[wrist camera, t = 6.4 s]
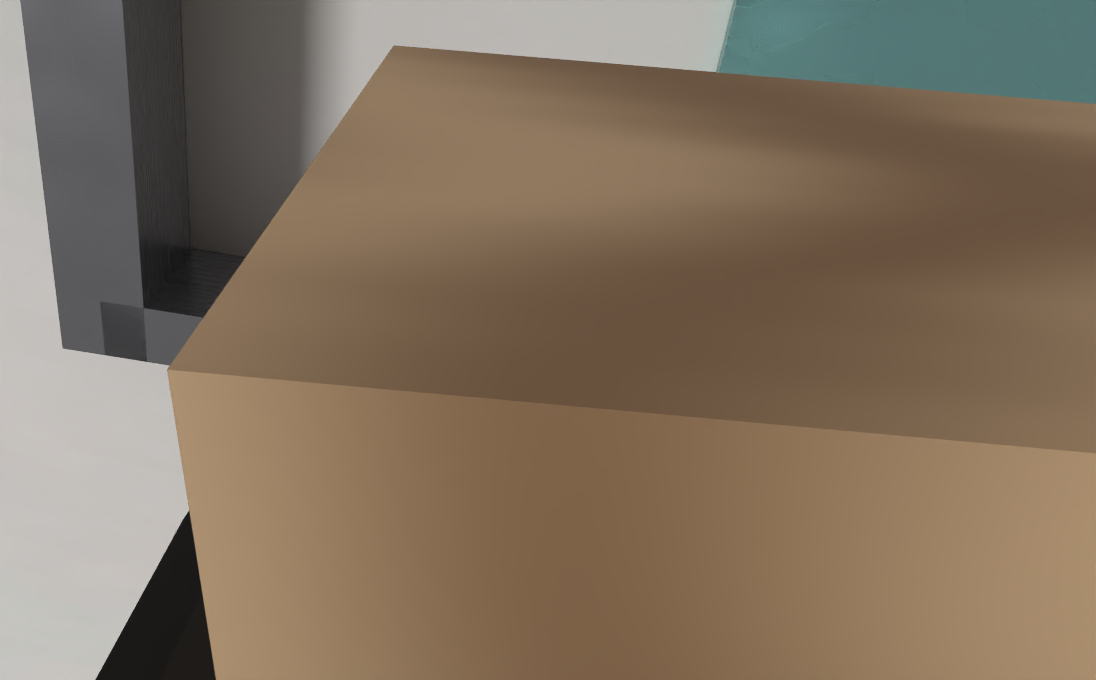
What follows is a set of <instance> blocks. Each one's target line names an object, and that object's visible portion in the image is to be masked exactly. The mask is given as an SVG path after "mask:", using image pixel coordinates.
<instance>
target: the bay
mask: <svg viewBox="0 0 1096 680" xmlns="http://www.w3.org/2000/svg"><path fill="white" fill-rule="evenodd" d="M20 1H21V9H22V17H23V25H24V34H25V42H26V50H27V58H28V66H29V75H30V83H31V91H32V99H33V107H34V116H35V124H36V132H37V140H38V149H39V157H40V165H41V173H42V181H43V190H44V198H45V206H46V214H47V222H48V231H49V239H50V247H51V255H52V263H53V272H54V280H55V288H56V296H57V304H58V313H59V321H60V329H61V337H62V345H63V348H64V349H70V350H76V351H83V352H89V353H95V354H101V355H108V356H114V357H120V358H127V359H133V360H139V361H145V362H152V363H158V364H164V365H171V363H172V362H173V361H174V359H175V358H176V356H177V355H178V353H179V352H180V351H181V349H182V348H183V346H184V345H185V343H186V342H187V341H188V339H189V338H190V336H191V335H192V333H193V332H194V331H195V329H196V328H197V326H198V325H199V323H200V322H201V321H202V319H203V318H204V316H205V315H206V313H207V312H208V311H209V309H210V308H211V306H212V305H213V303H214V302H215V301H216V299H217V298H218V296H219V295H220V293H221V292H222V290H223V289H224V288H225V286H226V285H227V283H228V282H229V280H230V279H231V278H232V276H233V275H234V273H235V272H236V270H237V269H238V268H239V266H240V265H241V263H242V262H243V260H244V259H245V258H244V257H237V256H231V255H225V254H219V253H213V252H207V251H201V250H195V249H190V232H189V206H188V181H187V156H186V130H185V105H184V79H183V54H182V29H181V3H180V0H20ZM717 72H718V73H730V74H742V75H754V76H766V77H778V78H790V79H802V80H814V81H826V82H838V83H850V84H862V85H874V86H886V87H898V88H910V89H922V90H934V91H946V92H958V93H970V94H982V95H994V96H1006V97H1018V98H1030V99H1043V100H1055V101H1067V102H1079V103H1091V104H1096V0H734V3H733V7H732V11H731V15H730V19H729V23H728V27H727V31H726V35H725V39H724V43H723V47H722V51H721V56H720V60H719V64H718V68H717Z"/></svg>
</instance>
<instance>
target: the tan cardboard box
mask: <svg viewBox="0 0 1096 680" xmlns="http://www.w3.org/2000/svg"><path fill="white" fill-rule="evenodd" d="M167 372H168V378H169V385H170V391H171V397H172V404H173V410H174V416H175V423H176V429H177V435H178V442H179V448H180V454H181V461H182V467H183V473H184V480H185V486H186V492H187V499H188V505H189V511H190V518H191V524H192V530H193V537H194V543H195V549H196V556H197V562H198V568H199V575H200V581H201V587H202V594H203V600H204V606H205V613H206V619H207V625H208V632H209V638H210V644H211V651H212V657H213V663H214V670H215V676H216V680H1096V104H1091V103H1079V102H1067V101H1055V100H1043V99H1030V98H1018V97H1006V96H994V95H982V94H970V93H958V92H946V91H934V90H922V89H910V88H898V87H886V86H874V85H862V84H850V83H838V82H826V81H814V80H802V79H790V78H778V77H766V76H754V75H742V74H730V73H718V72H706V71H694V70H682V69H670V68H658V67H645V66H633V65H621V64H609V63H597V62H585V61H573V60H561V59H549V58H537V57H525V56H513V55H501V54H489V53H477V52H465V51H453V50H441V49H429V48H417V47H405V46H393V47H392V49H391V50H390V52H389V53H388V55H387V56H386V57H385V59H384V60H383V62H382V63H381V65H380V66H379V68H378V69H377V70H376V72H375V73H374V75H373V76H372V78H371V79H370V80H369V82H368V83H367V85H366V86H365V88H364V89H363V90H362V92H361V93H360V95H359V96H358V98H357V99H356V100H355V102H354V103H353V105H352V106H351V108H350V109H349V110H348V112H347V113H346V115H345V116H344V118H343V119H342V120H341V122H340V123H339V125H338V126H337V128H336V129H335V130H334V132H333V133H332V135H331V136H330V138H329V139H328V140H327V142H326V143H325V145H324V146H323V148H322V149H321V150H320V152H319V153H318V155H317V156H316V158H315V159H314V160H313V162H312V163H311V165H310V166H309V168H308V169H307V170H306V172H305V173H304V175H303V176H302V178H301V179H300V180H299V182H298V183H297V185H296V186H295V188H294V189H293V190H292V192H291V193H290V195H289V196H288V198H287V199H286V200H285V202H284V203H283V205H282V206H281V208H280V209H279V210H278V212H277V213H276V215H275V216H274V218H273V219H272V220H271V222H270V223H269V225H268V226H267V228H266V229H265V230H264V232H263V233H262V235H261V236H260V238H259V239H258V240H257V242H256V243H255V245H254V246H253V248H252V249H251V250H250V252H249V253H248V255H247V256H246V258H245V259H244V260H243V262H242V263H241V265H240V266H239V268H238V269H237V270H236V272H235V273H234V275H233V276H232V278H231V279H230V280H229V282H228V283H227V285H226V286H225V288H224V289H223V290H222V292H221V293H220V295H219V296H218V298H217V299H216V301H215V302H214V303H213V305H212V306H211V308H210V309H209V311H208V312H207V313H206V315H205V316H204V318H203V319H202V321H201V322H200V323H199V325H198V326H197V328H196V329H195V331H194V332H193V333H192V335H191V336H190V338H189V339H188V341H187V342H186V343H185V345H184V346H183V348H182V349H181V351H180V352H179V353H178V355H177V356H176V358H175V359H174V361H173V362H172V363H171V365H170V366H169V368H168V369H167Z"/></svg>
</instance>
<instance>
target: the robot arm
mask: <svg viewBox="0 0 1096 680" xmlns="http://www.w3.org/2000/svg"><path fill="white" fill-rule="evenodd" d="M96 680H216V676H215V670H214V663H213V657H212V651H211V644H210V638H209V632H208V625H207V619H206V613H205V606H204V600H203V594H202V587H201V581H200V575H199V568H198V562H197V556H196V549H195V543H194V537H193V530H192V524H191V518H190V511H189V512H188V513H187V515H186V516H185V518H184V519H183V521H182V523H181V524H180V526H179V528H178V530H177V532H176V534H175V535H174V537H173V539H172V541H171V543H170V545H169V546H168V548H167V550H166V552H165V554H164V555H163V557H162V559H161V561H160V563H159V565H158V566H157V568H156V570H155V572H154V574H153V576H152V577H151V579H150V581H149V583H148V585H147V587H146V588H145V590H144V592H143V594H142V596H141V598H140V599H139V601H138V603H137V605H136V607H135V609H134V610H133V612H132V614H131V616H130V618H129V619H128V621H127V623H126V625H125V627H124V629H123V630H122V632H121V634H120V636H119V638H118V640H117V641H116V643H115V645H114V647H113V649H112V651H111V652H110V654H109V656H108V658H107V660H106V662H105V663H104V665H103V667H102V669H101V671H100V672H99V674H98V676H97V678H96Z"/></svg>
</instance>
